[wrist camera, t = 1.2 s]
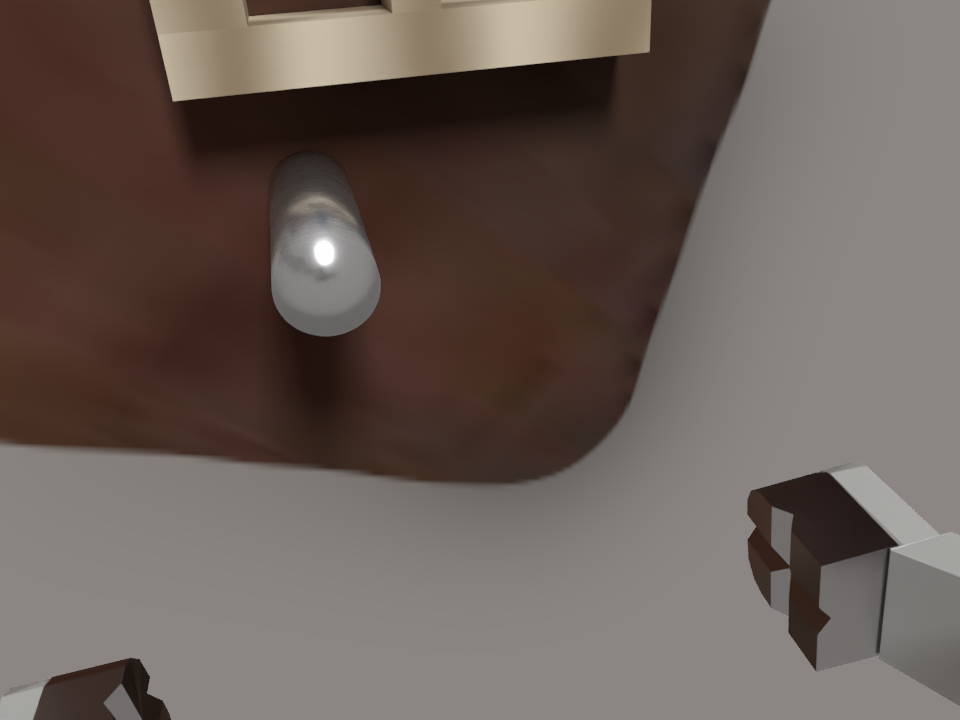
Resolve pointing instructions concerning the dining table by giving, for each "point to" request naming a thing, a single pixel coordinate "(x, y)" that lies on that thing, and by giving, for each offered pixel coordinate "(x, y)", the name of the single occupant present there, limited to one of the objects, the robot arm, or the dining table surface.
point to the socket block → (382, 40)
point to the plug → (319, 247)
